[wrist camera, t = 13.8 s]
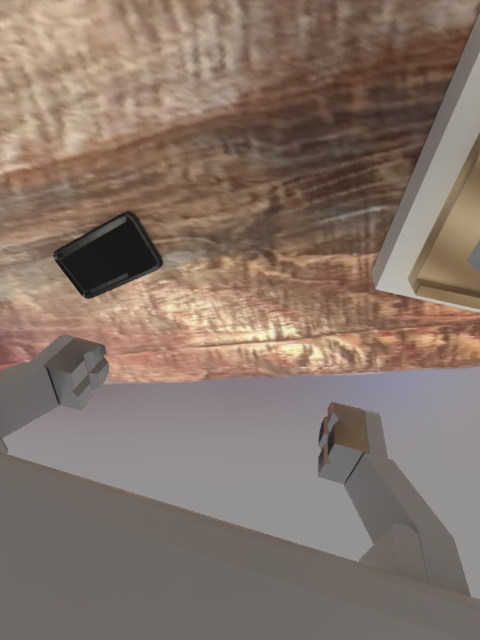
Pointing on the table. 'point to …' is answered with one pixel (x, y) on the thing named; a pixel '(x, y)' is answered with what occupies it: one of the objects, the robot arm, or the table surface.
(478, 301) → the tan tray
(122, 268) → the phone
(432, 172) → the block
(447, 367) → the table surface
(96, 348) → the robot arm
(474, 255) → the blue-grey cube
